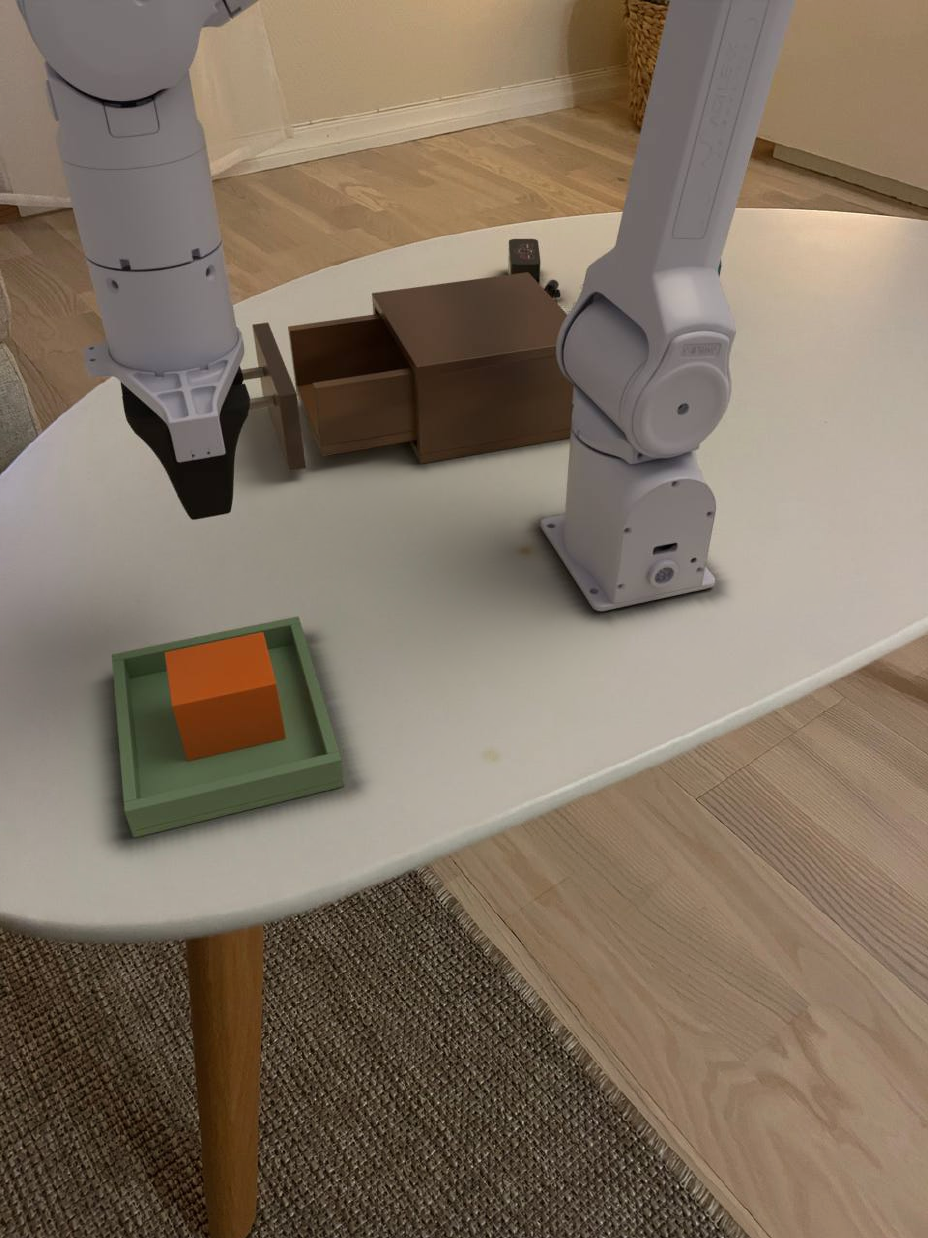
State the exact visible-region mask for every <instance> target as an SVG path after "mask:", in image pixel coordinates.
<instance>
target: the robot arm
mask: <svg viewBox="0 0 928 1238" xmlns="http://www.w3.org/2000/svg"><path fill="white" fill-rule="evenodd" d="M258 2H260V0H15V3H16V5H17V8H18V11H19V12H20V15H21V17H22V18H23V20H24V22H25V25H26V28H27V31H28V33H29V36H30V37H31V40H32V41H33V43H34V45H35V47H36V49H37V50H38V52H39V53H40V54H41V55H42V57H43V59H44V60H45V61H44V64H43V65H44V69H45V71H46V72H45V73H46V77H47V79H46V80H45V86H44V87H45V89H44V90H45V94H46V98H47V101H48V102H47V103H48V106H49V110H50V113H51V115H52V116H53V118H54V121H56V122H58V128H57V130H56V135H55V145H56V147H57V149H56V150H57V152H58V157H59V161H60V163H61V168H62V172H63V177H64V179H65V184H66V188H67V191H68V195H69V198H70V203H71V208H72V211H73V215H74V218H75V219H74V220H75V222H76V227H77V230H78V234H79V238H80V243H81V246H82V250H83V254H84V256H85V261H86V265H87V268H88V269H87V270H88V273H89V277H90V281H91V284H92V289H93V292H94V295H95V299H96V304H97V309H98V312H99V316H100V320H101V323H102V327H103V331H104V335H105V339H106V341H104V342H100V343H93V344H88V345H87V346H85V347H84V348H83V350H82V357H83V365H84V368H85V372H86V374H87V376H89V377H92V378H102V377H103V378H104V377H114V378H116V379H117V380H118V381H119V382H120V388H121V389H120V390H121V395H122V396H121V398H122V399H121V400H122V405H123V412H124V415H125V419H126V421H127V423H128V426H129V427H130V428H131V429H132V431H133V433H134V434H135V435H136V436H137V437H138V438H139V439H141V440H142V441H143V442H144V443H145V444H146V445H147V446H148V447H149V448H150V449H151V451H152V452H153V453H154V455H155V456H156V458H157V459H158V461H159V462H160V463H161V465H162V467H163V468H164V470H165V472H166V474H167V476H168V479H169V481H170V482H171V485H172V487H173V489H174V491H175V494H176V496H177V498H178V500H179V502H180V504H181V506H182V508H183V509H184V511H185V513H186V514H187V516H188V517H189V519H190V520H192V521H196V520H201V519H206V518H212V517H217V516H222V515H223V516H224V515H228V514H230V513H231V512H232V508H233V502H234V501H233V500H234V488H235V487H234V485H235V482H234V481H235V459H236V451H237V447H238V442H239V438H240V435H241V432H242V429H243V427H244V424H245V422H246V420H247V418H248V416H249V412H250V410H249V408H250V399H251V397H250V394H249V390H248V387H247V385H246V383H244V381H245V380H243V374H242V371H241V370H242V367H241V363H242V361H243V358H244V356H245V343H244V337H243V333H242V331H241V330H240V328H239V327H237V322H236V321H237V320H236V317H235V309H234V305H233V298H232V293H231V286H230V280H229V274H228V273H229V272H228V268H227V261H226V256H225V249H224V243H223V237H222V232H221V226H220V219H219V213H218V207H217V201H216V195H215V189H214V184H213V178H212V170H211V166H210V160H209V159H210V158H209V153H208V148H207V141H206V135H205V129H204V126H203V124H202V123H201V121H200V120H199V119H198V117H197V109H196V105H195V99H194V93H193V92H194V91H193V87H192V80H191V75H190V68H191V67H192V65H193V62H194V61H195V60H194V59H195V58H196V54H197V51H198V47H199V43H200V37H201V32H202V30H203V29H204V28H222V27H223V26H225V25H226V24H228V23H229V22H230V21H231V20H234V19H235V18H236V17H238V16H239V15H240V14H243V13H244V12H245V11H246V10H248V9H249V8H251V7H252V6H254V5H255V4H257V3H258ZM795 3H796V0H669V4H668V7H667V12H666V17H665V21H664V25H663V31H662V34H661V37H660V43H659V48H658V51H657V57H656V61H655V65H654V69H653V74H652V79H651V82H650V83H651V84H650V87H649V92H648V97H647V100H646V105H645V109H644V116H643V118H642V119H643V120H642V123H641V128H640V132H639V137H638V141H637V146H636V149H635V150H636V151H635V155H634V160H633V164H632V168H631V172H630V177H629V182H628V187H627V190H626V191H627V192H626V196H625V200H624V205H623V209H622V213H621V217H620V218H621V219H620V223H619V226H618V231H617V235H616V240H615V245H614V246H613V248H611V249H610V250H609V251H607V252H606V253H604V254H603V255H601V256H600V257H598V258H597V259H596V260H595V261H593V262H592V263H591V264H589V266H588V267H586V270H585V274H584V278H583V284H582V286H581V291H580V294H579V295H578V298H577V299H576V301H575V303H574V305H573V307H572V308H571V309H570V310H569V312H568V314H567V317H566V318H565V320H564V322H563V324H562V326H561V328H560V331H559V334H558V338H557V343H556V356H557V361H558V364H559V367H560V369H561V371H562V373H563V374H564V376H565V377H566V378H567V379H568V380H569V381H570V382H572V383H573V384H574V388H573V402H572V403H573V405H574V407H573V412H572V425H571V436H570V438H569V452H568V464H567V465H568V466H567V479H566V480H567V481H566V493H565V507H564V514H559V515H553V516H549V517H544V518H542V519H541V521H540V528H541V530H542V531H543V533H544V535H545V536H546V538H547V540H548V541H549V542H550V544H551V545H552V547H553V548H554V550H555V552H556V554H558V557H559V558H560V560H561V561H562V562H563V564H564V565H565V568H566V569H567V570H568V572H569V573H570V575H571V576H572V578H573V580H574V581H575V583H576V585H577V586H578V587H579V589H580V590H581V592H582V593H583V595H584V597H585V599H586V601H588V603H589V605H590V606H591V608H592V609H593V610H595V611H597V612H605V611H609V610H615V609H620V608H624V607H628V606H634V605H638V604H642V603H647V602H651V601H655V600H661V599H664V598H665V599H666V598H670V597H674V596H678V595H679V596H680V595H683V594H687V593H692V592H697V591H701V590H706V589H710V588H713V587H714V586H715V584H716V578H715V576H714V575H713V573H712V572H711V571H710V570H709V569H708V567H707V566H706V565H707V561H708V556H709V550H710V544H711V540H712V534H713V530H714V524H715V519H716V513H717V500H716V496H715V494H714V491H713V489H712V488H711V486H710V485H709V483H708V482H707V480H706V478H705V477H704V475H703V473H702V470H701V467H700V465H699V462H698V461H699V460H698V456H697V450H699V449H700V447H701V443H703V442H704V441H705V440H706V439H708V438H709V436H710V435H711V434H712V433H713V432H714V431H715V429H716V428H717V427H719V424H720V423H721V421H722V419H723V418H724V416H725V413H726V412H727V410H728V407H729V403H730V401H731V395H732V388H733V387H732V386H733V385H732V375H731V369H730V357H731V352H732V347H733V345H734V340H735V338H736V334H737V327H736V323H735V320H734V316H733V314H732V311H731V308H730V305H729V303H728V300H727V299H728V298H727V297H726V294H725V291H724V287H723V284H722V282H721V279H720V278H721V277H720V278H719V274H718V267H719V264H720V260H721V261H722V256H723V254H724V250H725V246H726V243H727V240H728V235H729V233H730V229H731V225H732V222H733V218H734V215H735V213H736V208H737V204H738V201H739V197H740V195H741V191H742V187H743V185H744V184H743V183H744V181H745V178H746V173H747V171H748V167H749V163H750V160H751V156H752V153H753V149H754V147H755V146H754V145H755V143H756V139H757V135H758V131H759V128H760V125H761V122H762V119H763V114H764V110H765V108H766V105H767V101H768V97H769V93H770V90H771V86H772V84H773V80H774V76H775V74H776V73H775V72H776V69H777V66H778V62H779V59H780V55H781V52H782V48H783V45H784V41H785V39H786V35H787V31H788V29H789V25H790V21H791V18H792V14H793V11H794V7H795Z"/></svg>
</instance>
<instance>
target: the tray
mask: <svg viewBox="0 0 928 1238" xmlns="http://www.w3.org/2000/svg"><path fill="white" fill-rule="evenodd" d="M301 623H302V622H301V620H300V616H292V617H287V618H283V619H278V620H273V621H268V622H264V623H258V624H253V625H248V626H244V627H238V628H233V629H228V630H224V631H219V632H214V633H210V634H205V635H200V636H195V637H190V638H185V639H181V640H176V641H175V640H174V641H171V642H166V643H162V644H161V643H160V644H155V645H151V646H150V645H149V646H145V647H140V648H136V649H131V650H127V651H121V652H117V653H112V654H111V662H112V663H111V664H112V677H113V688H114V701H115V712H116V714H115V715H116V725H117V739H118V749H119V763H120V764H119V765H120V775H121V788H122V800H123V801H122V802H123V812H124V815H125V817H126V820H127V823H128V826H129V829H130V832H131V835H132V836H133V838H140V837H142V836H147V835H151V834H154V833H155V834H156V833H160V832H163V831H167V830H171V829H176V828H180V827H185V826H188V825H192V824H196V823H200V822H204V821H209V820H213V819H217V818H221V817H225V816H228V815H229V816H230V815H232V814H237V813H241V812H244V811H250V810H253V809H257V808H262V807H265V806H269V805H274V804H277V803H282V802H285V801H290V800H294V799H298V798H302V797H306V796H310V795H314V794H319V793H322V792H326V791H329V790H335V789H339V788H343V787H345V785H346V783H345V777H344V769H343V762H342V756H341V753H340V749H339V747H338V743H337V740H336V736H335V733H334V730H333V726H332V723H331V719H330V716H329V714H328V710H327V707H326V706H327V705H326V703H325V700H324V696H323V693H322V690H321V686H320V683H319V680H318V677H317V672H316V670H315V666H314V663H313V660H312V657H311V652H310V649H309V647H308V643H307V639H306V637H305V633H304V629H303V626H302V624H301ZM260 632H263V633H264V637H265V641H266V645H267V649H268V653H269V657H270V661H271V664H272V668H273V672H274V676H275V680H276V685H277V690H278V696H279V701H280V707H281V712H282V718H283V724H284V729H285V735H286V738H285V739H282V740H277V741H273V742H269V743H265V744H260V745H256V746H252V747H247V748H243V749H239V750H234V751H230V752H226V753H221V754H217V755H213V756H208V757H204V758H200V759H195V760H191V761H187V758H186V755H185V751H184V748H183V744H182V741H181V737H180V733H179V730H178V726H177V723H176V719H175V716H174V712H173V708H172V703H171V696H170V689H169V682H168V675H167V667H166V660H165V652H168V651H173V650H178V649H183V648H188V647H193V646H197V645H202V644H207V643H212V642H217V641H222V640H226V639H231V638H236V637H241V636H246V635H251V634H256V633H260Z"/></svg>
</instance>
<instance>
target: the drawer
mask: <svg viewBox="0 0 928 1238" xmlns="http://www.w3.org/2000/svg"><path fill="white" fill-rule="evenodd" d="M287 331H288V338H289V339H288V340H289V346H290V354H291V361H292V369H293V376H294V377H293V378H294V384H295V385H294V384H293V380H292V378H291V376H290V373H289V371H288V368H287V366H286V364H285V361H284V359H283V356H282V353H281V351H280V349H279V346H278V343H277V340H276V338H275V336H274V333H273V330H272V329H271V326H270V324H269V322H262V323H253V324H252V332H253V333H252V334H253V339H254V347H255V352H256V353H255V354H256V359H257V366H258V367H257V366H256V367H250V368H243V369H241V371H242V374H243V380H244V381H246V380H247V381H248V380H254V379H260V385H261V392H262V393H261V394H262V396H258V397H250V408H249V411H254V410H260V409H267V412H268V414H269V417H270V420H271V423H272V425H273V429H274V432H275V434H276V437H277V440H278V443H279V446H280V449H281V452H282V454H283V457H284V461H285V463H286V466H287V469H288V471H289V472H291V471H297V470H302V469H306V468H307V465H306V457H305V448H304V442H303V441H304V440H303V434H302V432H303V431H302V426H301V425H302V424H301V418H300V410H299V402H300V404H301V407H302V409H303V412H304V414H305V417H306V418H307V422H308V423H309V426H310V428H311V431H312V434H313V436H314V439H315V442H316V443H317V444H316V445H317V447H318V449H319V452H320V454H321V456H322V457H324V456H325V457H326V456H331V455H337V454H343V453H348V452H354V451H359V450H366V449H372V448H377V447H384V446H389V445H395V444H401V443H409V441H413V440H417V431H416V407H415V383H414V371H413V369H412V368H411V366H410V364H409V363H408V361H407V359H406V358H405V356H404V354H403V353H402V351H401V349H400V348H399V346H398V344H397V343H396V341H395V339H394V338H393V336H392V334H391V333H390V331H389V329H388V328H387V326H386V324H385V323H384V321H383V319H382V318H381V316H380V314H374V315H373V314H367V315H360V316H354V317H353V316H351V317H346V318H339V319H338V318H337V319H331V320H323V321H317V322H309V323H303V324H296V325H289V326H288V327H287ZM298 399H299V401H298Z"/></svg>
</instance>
